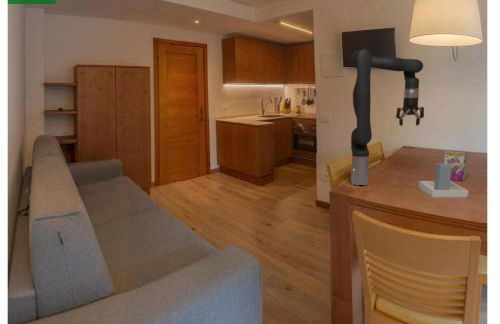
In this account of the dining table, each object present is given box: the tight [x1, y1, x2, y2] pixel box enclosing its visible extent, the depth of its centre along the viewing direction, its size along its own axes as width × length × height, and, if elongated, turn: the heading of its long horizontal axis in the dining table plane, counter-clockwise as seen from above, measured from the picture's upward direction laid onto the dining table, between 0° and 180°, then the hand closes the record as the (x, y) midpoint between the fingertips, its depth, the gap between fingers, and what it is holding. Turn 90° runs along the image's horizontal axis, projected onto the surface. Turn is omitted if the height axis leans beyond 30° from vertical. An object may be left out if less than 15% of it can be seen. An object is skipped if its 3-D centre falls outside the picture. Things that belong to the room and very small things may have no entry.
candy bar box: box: [442, 150, 469, 182], centre depth 184 cm, size 11×5×16 cm, turn 41°
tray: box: [418, 180, 469, 200], centre depth 161 cm, size 16×18×4 cm
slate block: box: [434, 163, 451, 190], centre depth 160 cm, size 5×5×14 cm
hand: (409, 125), depth 180 cm, fingers open, 8 cm apart
